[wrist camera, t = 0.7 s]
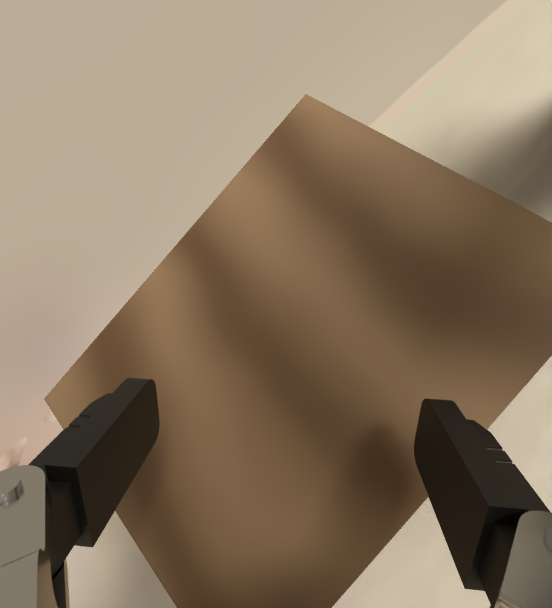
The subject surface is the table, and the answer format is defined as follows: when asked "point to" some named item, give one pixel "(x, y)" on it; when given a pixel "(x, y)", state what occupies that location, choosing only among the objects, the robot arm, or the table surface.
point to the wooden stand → (314, 358)
